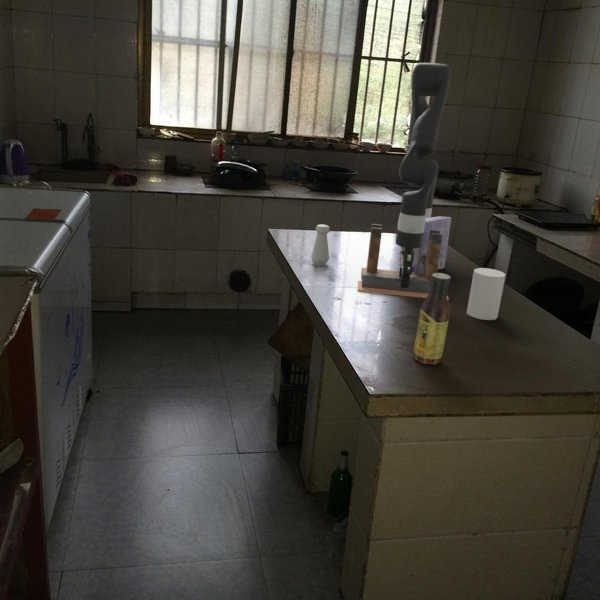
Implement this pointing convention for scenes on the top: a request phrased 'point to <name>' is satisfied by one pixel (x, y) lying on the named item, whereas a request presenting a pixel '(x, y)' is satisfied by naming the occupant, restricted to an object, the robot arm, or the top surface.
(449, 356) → the top surface
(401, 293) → the mat
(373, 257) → the rack
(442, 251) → the cake pan box
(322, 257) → the salt shaker
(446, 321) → the sauce bottle
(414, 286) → the rail
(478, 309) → the cup
